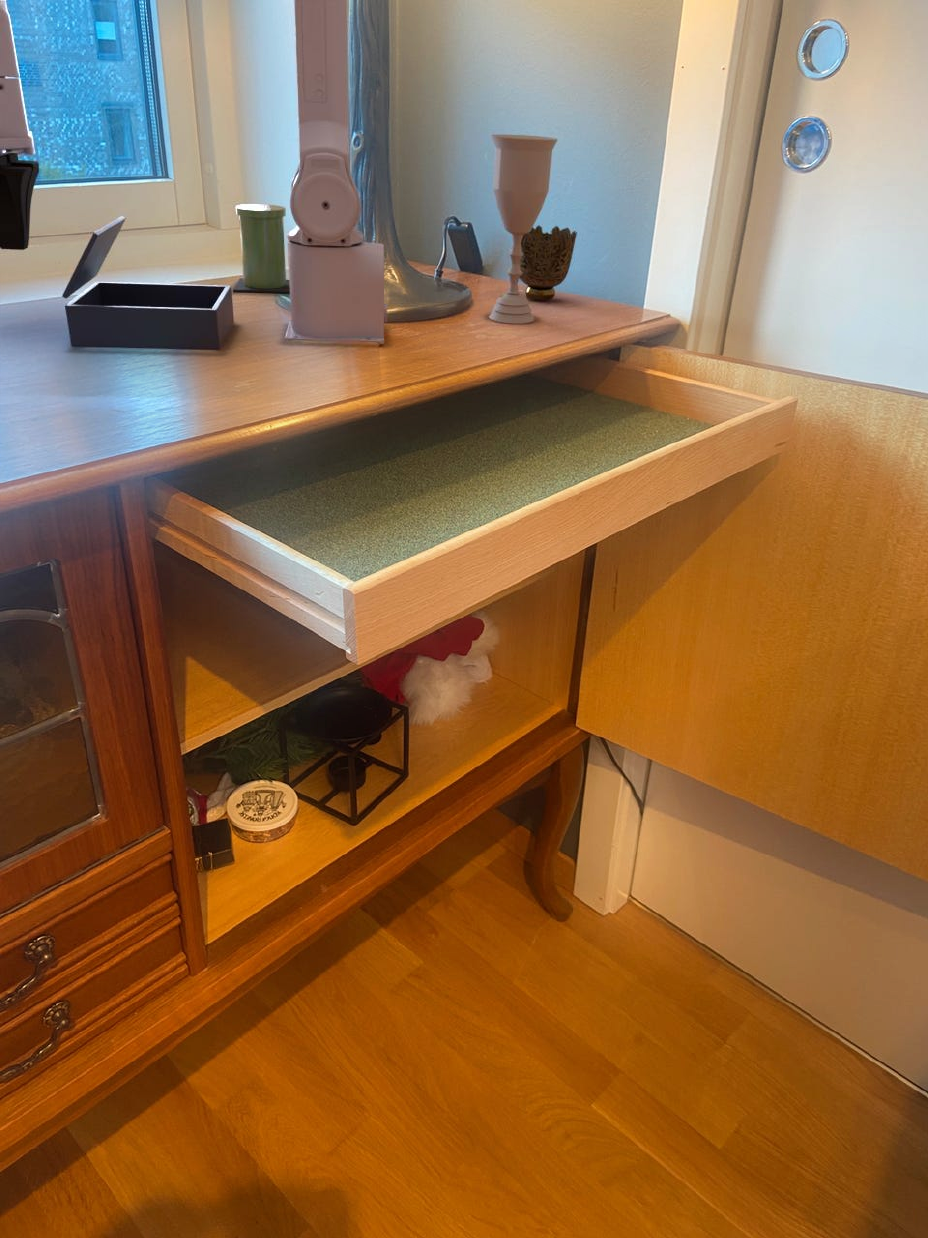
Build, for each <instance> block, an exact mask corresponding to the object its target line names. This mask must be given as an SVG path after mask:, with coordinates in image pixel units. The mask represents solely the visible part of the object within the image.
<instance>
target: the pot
mask: <svg viewBox="0 0 928 1238" xmlns="http://www.w3.org/2000/svg"><path fill="white" fill-rule="evenodd" d="M286 209H287V208H286V207H284V206H281V205H276V204H266V203H265V204H263V203H262V204H261V203H250V204H249V203H248V204H246V203H245V204H238V205H236V206H235V214H236V216H238V220H239V236H240V249H241V265H242V278H243V281H244V285H245V286H247V287H251V288H260V289H274V288H281V287H284V286H286V280H287V268H286V246H285V245H286V244H285V243H286V242H285V226H284V225H285V223H284V221H285V220H284V217H286V215H287V211H286Z"/></svg>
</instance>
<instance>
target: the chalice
mask: <svg viewBox="0 0 928 1238" xmlns="http://www.w3.org/2000/svg"><path fill="white" fill-rule="evenodd" d="M491 138H492V142H493V145H494V148H495V150H494V164H493V165H494V167H493V182H492V184H493V185H492V188H493V193H494V198H495V203H496V206H497V210H498V212H499V216H500V219H501V222H502V225H503V228H504V230H505V231H506V232H507V233H509V234H511V236H512V245H511V250H510V252H509V253H508V255H509V257H510V261H511V265H510V268H509V269H508V270H507V271H506V273H507V274H508V276H509V287H508V290H506V293H504V294H502V295H499V297H498V298H497V299H496V300H495V304H494V306H493V307H492V312H491V313H490V314H489V316H488V318H489V320H492V321H495V322H498V323H503V324H514V325H515V324H518V325H519V324H520V325H521V324H528V323H531V322H534V321H535V318H534V316H533V314H532V308H531V306H530V302H529V299H528V298H527V296H524V295H522V294H521V291H519V290H520V289H519V281H520V278H519V277H520V276H521V275H522V274H523V273H522V271H521V270H520V265H519V263H520V260H521V257H522V256H523V253H522V250H521V240H522V236H523V235H524V234H527V233H529V232H530V231H531V229H532V227H533V228H534V225H535V223H536V221H537V219H538V218H539V216H540V214H541V212H542V210H543V207H544V205H545V202H546V199H547V196H548V193H549V191H550V178H551V167H552V157H553V149H554V148H555V146H556V145H557V144H556V143H557V142H558V138H556V137H549V136H539V135H527V134H525V135H524V134H491Z"/></svg>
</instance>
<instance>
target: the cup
mask: <svg viewBox="0 0 928 1238" xmlns="http://www.w3.org/2000/svg"><path fill="white" fill-rule="evenodd" d="M577 237H578V231H576V230H573V231H572V232H571V230H570V228H569V227H565V228H562V229H560V227H559V226H557V225H555V226H554V227H552V229H551V231H550V232H548V231H546V232H543V227H542V226H541V225H537V226H536V227H534V226H533V227H532V229H531V231H530V232H529V233H527V234H524V235H523V236H522V240H521V250H522V253H523V256H522V257H521V260H520V263H519V265H520V270H521V271H522V273H523V274H522V275H521V276H520V277H519V281H521V282H522V283H523V284H524V285H526V287H525V290H524V294H525V297H526V298H527V299H528V300H531V301H535V302H549V301H551V300H553V299H554V297H555V295H556V290H555V287H557V286H559V285H561V284H562V283H563V282H564V281H565V279H566V277H567V276H568V274H569V270H570V267H571V263H572V259H573V253H574V249H575V245H576V239H577Z"/></svg>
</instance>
